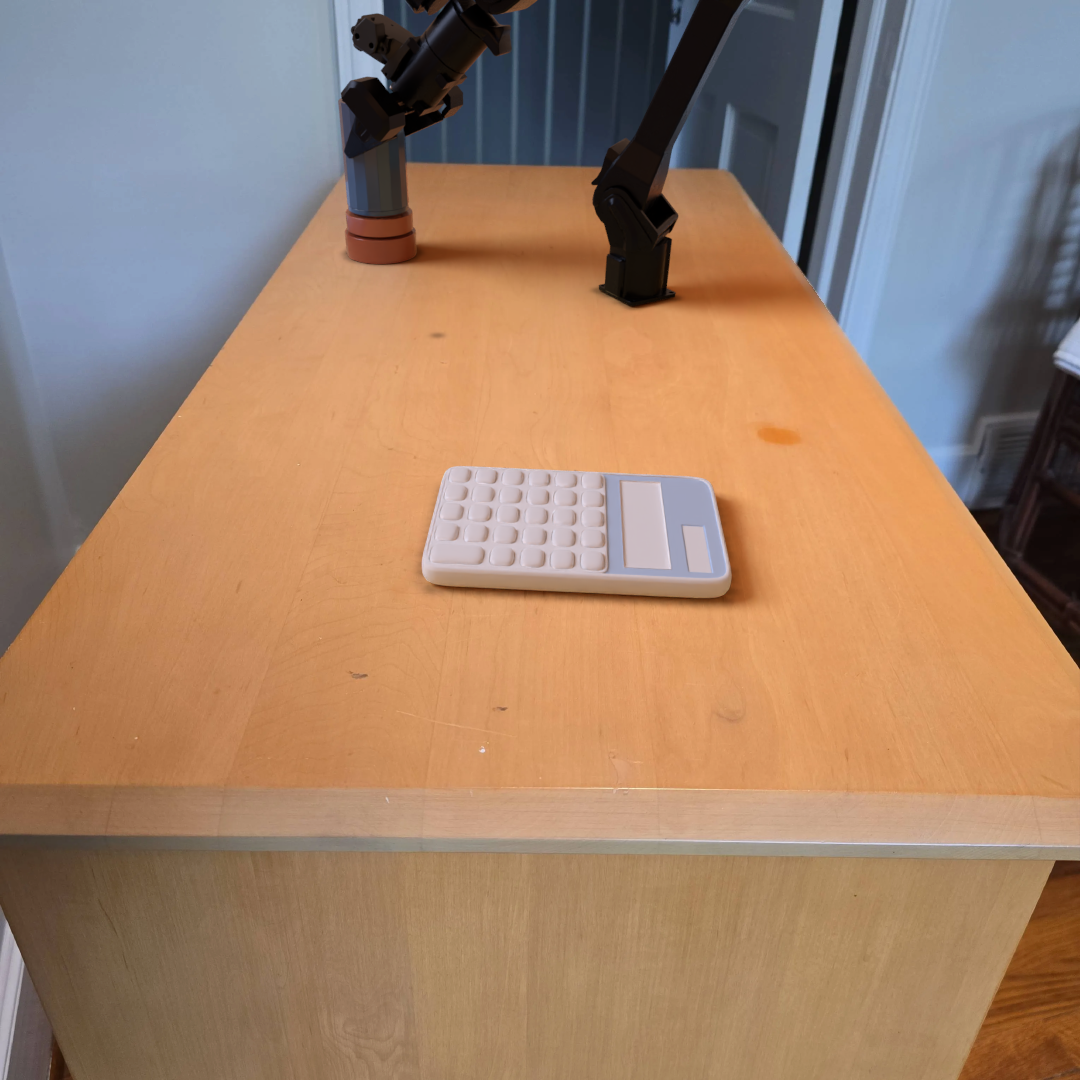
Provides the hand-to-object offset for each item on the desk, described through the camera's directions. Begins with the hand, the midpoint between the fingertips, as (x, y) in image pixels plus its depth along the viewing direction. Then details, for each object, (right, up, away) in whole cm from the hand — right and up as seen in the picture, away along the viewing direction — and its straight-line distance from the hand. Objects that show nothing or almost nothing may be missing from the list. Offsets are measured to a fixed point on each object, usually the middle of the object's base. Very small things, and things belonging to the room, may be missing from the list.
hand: (364, 148), depth 109 cm
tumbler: (+1, -6, +3) cm, 7 cm away
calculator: (+23, -46, -44) cm, 68 cm away
